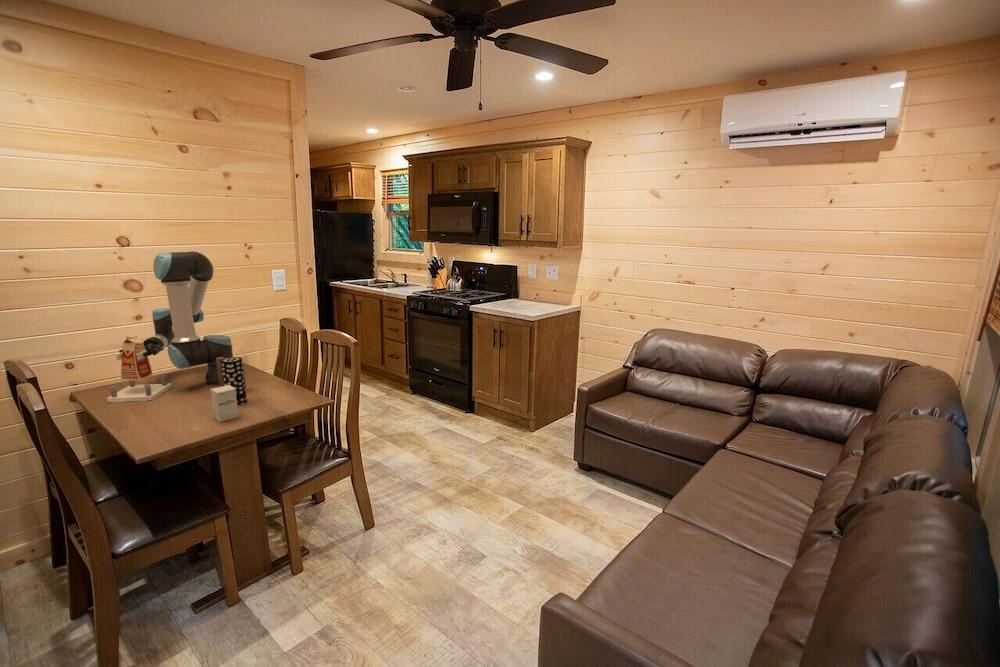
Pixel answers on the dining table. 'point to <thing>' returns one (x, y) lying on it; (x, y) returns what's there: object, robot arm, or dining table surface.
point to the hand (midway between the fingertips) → (127, 357)
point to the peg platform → (139, 391)
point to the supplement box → (224, 403)
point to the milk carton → (134, 361)
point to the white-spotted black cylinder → (234, 377)
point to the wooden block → (221, 371)
